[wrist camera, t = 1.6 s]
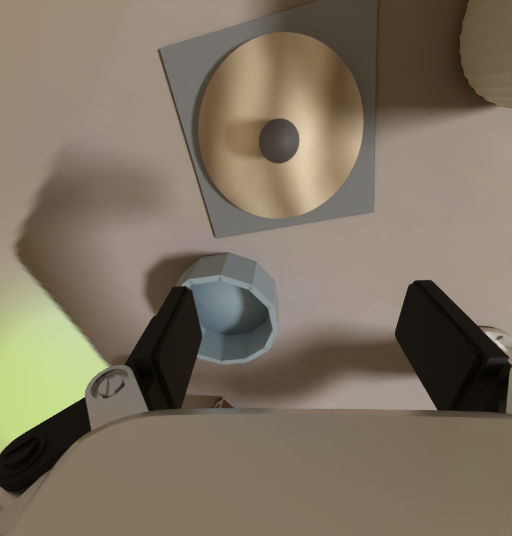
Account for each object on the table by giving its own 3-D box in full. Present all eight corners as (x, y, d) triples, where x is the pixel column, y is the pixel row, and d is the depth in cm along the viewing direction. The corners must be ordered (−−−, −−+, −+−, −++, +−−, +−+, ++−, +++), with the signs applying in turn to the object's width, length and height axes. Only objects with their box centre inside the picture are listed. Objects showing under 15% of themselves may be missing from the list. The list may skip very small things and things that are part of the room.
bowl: (267, 246, 34) (265, 268, 29) (284, 329, 41) (285, 359, 36) (165, 262, 37) (147, 285, 31) (197, 338, 44) (186, 367, 38)
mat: (376, -16, 22) (377, -18, 21) (372, 211, 31) (373, 211, 31) (161, 49, 25) (159, 48, 24) (216, 237, 34) (216, 238, 34)
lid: (358, 11, 22) (382, -23, 17) (361, 201, 30) (377, 216, 25) (179, 64, 25) (154, 47, 20) (224, 226, 33) (214, 243, 28)
